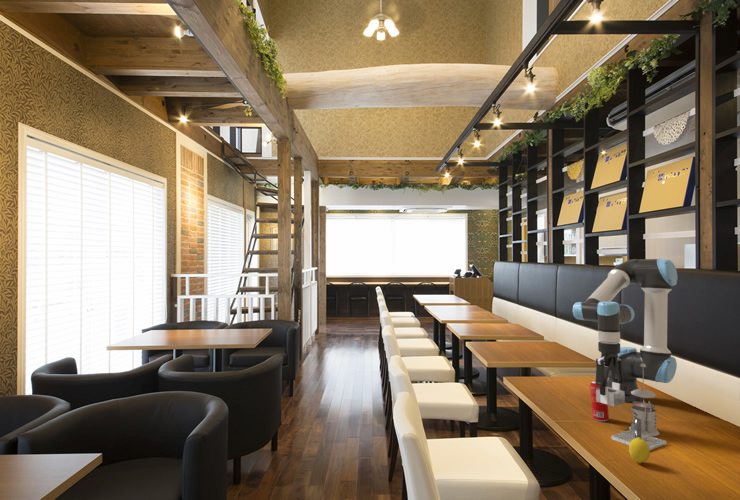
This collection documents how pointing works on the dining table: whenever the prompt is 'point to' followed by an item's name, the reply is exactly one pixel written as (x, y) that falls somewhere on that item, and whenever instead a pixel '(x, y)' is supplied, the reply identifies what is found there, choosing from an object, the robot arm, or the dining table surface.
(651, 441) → the toggle switch
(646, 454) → the lemon
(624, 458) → the dining table surface
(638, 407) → the french press
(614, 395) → the white square hollow block
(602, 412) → the beverage can
